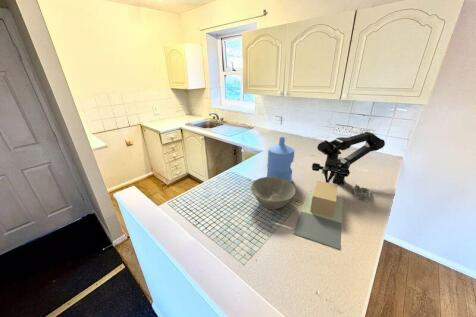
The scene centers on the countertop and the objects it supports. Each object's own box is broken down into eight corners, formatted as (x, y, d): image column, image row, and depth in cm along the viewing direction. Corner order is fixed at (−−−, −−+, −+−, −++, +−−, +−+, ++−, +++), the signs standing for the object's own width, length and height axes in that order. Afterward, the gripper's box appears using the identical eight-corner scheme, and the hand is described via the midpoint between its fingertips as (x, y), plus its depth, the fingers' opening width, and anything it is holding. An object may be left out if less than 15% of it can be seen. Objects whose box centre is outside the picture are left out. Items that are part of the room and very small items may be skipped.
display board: (307, 191, 112) (308, 191, 111) (342, 199, 104) (343, 199, 104) (293, 233, 83) (293, 233, 82) (340, 249, 75) (340, 249, 75)
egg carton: (353, 189, 113) (355, 183, 112) (368, 193, 110) (370, 186, 108) (352, 198, 105) (354, 192, 104) (368, 203, 101) (370, 196, 100)
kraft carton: (314, 194, 108) (317, 180, 104) (334, 199, 104) (337, 184, 100) (310, 211, 95) (312, 195, 92) (332, 217, 91) (336, 201, 87)
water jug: (272, 187, 116) (275, 143, 105) (262, 175, 130) (264, 135, 118) (296, 183, 120) (301, 140, 108) (284, 172, 133) (287, 133, 122)
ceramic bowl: (286, 190, 113) (288, 175, 109) (299, 217, 92) (302, 200, 88) (248, 192, 112) (248, 176, 108) (253, 219, 91) (253, 201, 87)
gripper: (314, 149, 108) (308, 175, 104) (353, 155, 100) (348, 183, 95) (314, 157, 117) (309, 181, 113) (349, 163, 109) (345, 189, 105)
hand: (326, 184), depth 106 cm, fingers closed
